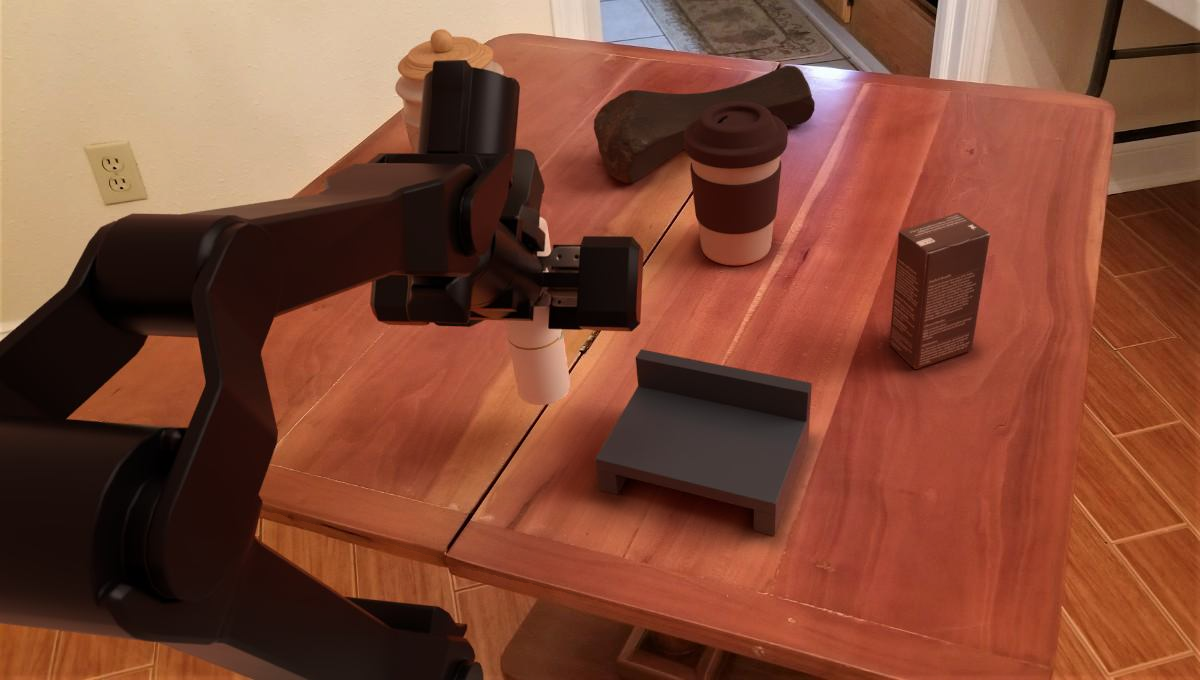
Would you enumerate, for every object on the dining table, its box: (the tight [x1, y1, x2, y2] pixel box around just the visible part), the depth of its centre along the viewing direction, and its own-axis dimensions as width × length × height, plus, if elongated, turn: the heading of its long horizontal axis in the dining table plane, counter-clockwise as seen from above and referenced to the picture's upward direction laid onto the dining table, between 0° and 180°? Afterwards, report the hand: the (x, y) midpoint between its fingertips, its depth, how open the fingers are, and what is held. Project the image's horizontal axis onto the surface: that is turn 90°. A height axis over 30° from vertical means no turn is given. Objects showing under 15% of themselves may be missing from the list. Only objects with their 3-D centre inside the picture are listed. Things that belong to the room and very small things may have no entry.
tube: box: [504, 216, 571, 406], centre depth 72 cm, size 4×4×15 cm
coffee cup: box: [684, 101, 789, 266], centre depth 94 cm, size 10×10×15 cm
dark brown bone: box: [593, 65, 816, 185], centre depth 115 cm, size 11×10×28 cm
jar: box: [394, 28, 517, 153], centre depth 113 cm, size 13×13×18 cm
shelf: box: [594, 348, 813, 537], centre depth 72 cm, size 10×14×6 cm
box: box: [888, 212, 991, 370], centre depth 79 cm, size 6×4×12 cm
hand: (536, 302), depth 73 cm, fingers closed on tube, 4 cm apart
